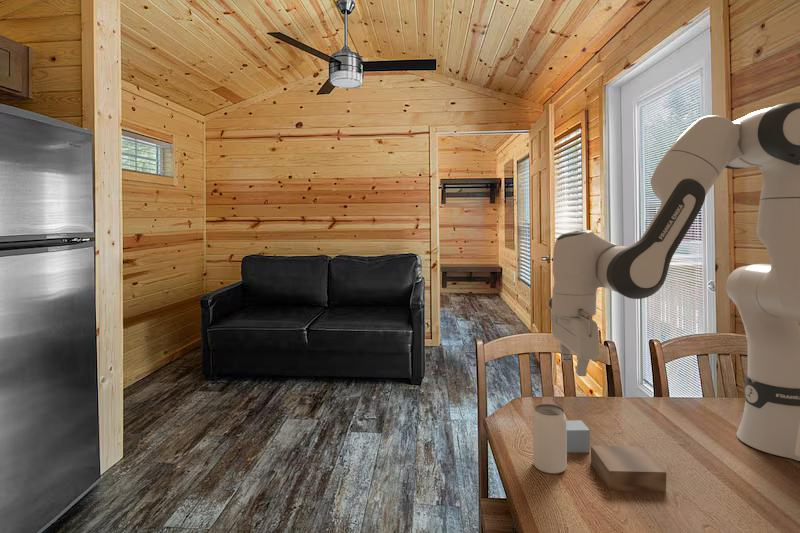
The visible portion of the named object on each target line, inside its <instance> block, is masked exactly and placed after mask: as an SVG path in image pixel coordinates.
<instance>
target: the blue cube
mask: <svg viewBox="0 0 800 533" xmlns="http://www.w3.org/2000/svg"><path fill="white" fill-rule="evenodd" d="M566 422H567V453H591V445H590V444H591V443H590V441H591V437H590V436H591V432H590V429H589V427H588V426H587V425H586V424H585V423H584V422H583V420H579V419H578V420H566Z"/></svg>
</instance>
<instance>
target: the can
mask: <svg viewBox="0 0 800 533" xmlns="http://www.w3.org/2000/svg"><path fill="white" fill-rule="evenodd" d="M566 421H567V416H566V414H565V410H564V408H563V407H562V406H559V405H557V404H556V405H555V404H550V403H542V404H538V405H536V406H535V407H534V412H533V415H532V462H533V466H534V467H535V468H536V469H537V470H538V471H540V472H542V473H545V474H549V475H558V474H561V473H564V471H566V469H567V467H568V466H567V464H568V463H567V460H568V459H567V454H568V452H567V422H566Z"/></svg>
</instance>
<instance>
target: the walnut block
mask: <svg viewBox="0 0 800 533" xmlns="http://www.w3.org/2000/svg"><path fill="white" fill-rule="evenodd" d="M590 463H591V465H592V467H593V468H594V469H595V471H596V473H597V474H598V476H599V477H600V478H601V480H602V482H603V483H604V485H605V486H606V487H607V489H608V491H619V492H622V491H623V492H628V491H629V492H631V491H632V492H663V493H664V492H667V471H666V470H665V469H664V468H663V467H662V466H661V465H660V464H659V463H658V462H657V461H656V459H655V458H654V457H652V456H651V455H650V453H649V452H648V451H647V450H646V449H645V448H644V447H643V446H642V445H640V446H639V445H632V446H631V445H590Z"/></svg>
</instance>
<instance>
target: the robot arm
mask: <svg viewBox="0 0 800 533" xmlns="http://www.w3.org/2000/svg"><path fill="white" fill-rule="evenodd" d="M754 167H755V168H756V167H758V169H759V171H760V173H761V176H762V184H761V190H760V197H759V205H758V214H757V221H756V222H757V224H756V232H755V234H756V236H757V238H758V241H760V242H761V243H762V244H763V245H764V247H765V249H766V251H767V253H768V256H769V260H770V263H756V264H754V263H753V264H748V265H743V266H740V267H737V268H736V269H734V270H733V271H732V272H731V273H729V275H728V277H727V279H726V283H725V290H726V294H727V296H728V297H729V299H730V300H731V301H732V302H733V303H734V305H735V307H736V308H737V311H738V313H739V316H740V318H741V319H740V320H741V322H742V325H743V327H744V328H743V329H744V332H745V336H746V342H747V374H745V375H744V385H743V386H744V390H743V391H744V398H745V401H744V408H743V414H742V417H741V420H740V424H739V427H738V429H737V432H736V437H737V438H738V440H739V441H740V442H743V443H744V444H746V445H748V446H749V447H752V449H756V450H759V451H760V452H765V453H767V454H771V455H775V456H778V457H782V458H786V459H787V458H788V459H791V460H794V461H797V462H800V323H799V322H800V101H791V102H783V103H779V104H777V105H776V104H775V106H771V107H767V108H762V109H760V110H759V109H758V110H756V111H753V112H750V113H748V114H747V115H745V116H742V117H740V118H737V119H736V120H731V119H729V118H727V117H724V116H721V115H715V114H714V115H711V114H710V115H706V116H702V117H700V118H698V119H697V120H696V121H694V122H693V123H692V124H691V125H690V126H688V127H687V129H686V130H685V131H684V132H683V133H682V134H680V136H679V137H678V138H677V139H676V140H675V141H674V142H673V144H672V145H671V146H670V148H669V149H668V150H667V151H666V153H665V154H664V155H663V157H662V158H661V159H660V161H659V163H658V164H657V166H656V167H655V169H654V172H653V173H652V176H651V178H650V186H651V189H652V191H653V194H654V195H655V196H656V198H658V199H659V200H660V201H661V202H660V206H659V209H658V211H657V212H656V214H655V215H654V217H653V219H652V220H651V222H650V224H648V226H647V228H646V230H645V231H644V233H643V235H642V236H641V237H640V238H639V239H638V240H637V241H636V242H634V243H633V244H630V245H628V246H625V245H621V244H620V245H619V244H617V243H613V242H611V241H609V240H607V239H605V238H602V237H600V236H599V235H597V234H596V233H594V232H593V230H589V229H583V230H582V229H581V230H574V231H570V232H565V233H562V234H560V235H559V236H558V237H557V238H556V240H555V242H554V248H553V254H552V275H553V279H554V283H553V287H552V290H551V291H552V297H550V298H549V299H548V303H547V304H548V308H549V309H550V324H551V326H550V328H551V333H552V337H553V338H554V339H555V340H556V341H558V343H559V350H560V354H561V361H562V362H563V363H564V364H571V362H572V354H571V353H573V354H574V355H575V356H576V360H577V361H576V362H577V363H576V365H575V374H576V375H577V376H578V377H586V376H587V372H588V371H587V370H588V369H587V368H588V366H589V364H590V360H598V358H599V356H600V336H599V335H600V334H599V327H598V323H597V322H596V321H595V320H593V319H592V317H594V316H596V315H597V290H598V289H599V288H605V289H607V290H609V291H612V292H616V293H618V294H620V295H622V296H624V297H626V298H627V299H632V300H640V299H646V298H649V297H652V296H653V295H655V294H656V293H657V292H659V291H660V289H661V288H662V287H663V286H664V283H665V281H666V279H667V276H668V272H669V270H670V268H669V267H670V264H671V261H672V259H673V256H674V255H675V253H676V251H677V249H678V248H679V247H680V244H681V243H682V242H683V239H684V238H685V237H686V234H687V233H688V232H689V230H690V228H691V226H692V225H693V223H694V222H695V220H696V218H697V216H698V214H699V213H700V212H701V209H702V207H703V205H704V203H705V201H706V196H707V194H708V193H709V191H710V189H711V188H712V187H713V185H714V184H715V183H716V181H717V180H718V178H719V177H720V176H721V174H722V173H723V172H724V170H725V169H727V170H729V169H730V170H740V169H741V170H742V169H744V168H754Z"/></svg>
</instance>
